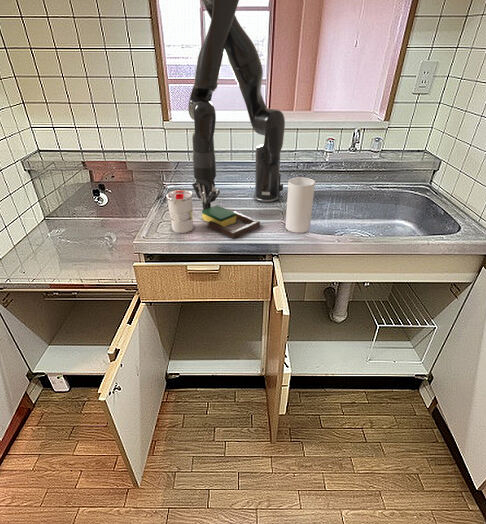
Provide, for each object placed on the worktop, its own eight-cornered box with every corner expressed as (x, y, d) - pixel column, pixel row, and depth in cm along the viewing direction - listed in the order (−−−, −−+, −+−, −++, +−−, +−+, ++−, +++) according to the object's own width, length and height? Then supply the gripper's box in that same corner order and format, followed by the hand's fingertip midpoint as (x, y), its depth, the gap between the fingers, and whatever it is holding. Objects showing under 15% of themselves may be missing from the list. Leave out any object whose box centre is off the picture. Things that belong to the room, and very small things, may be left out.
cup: (309, 233, 115) (315, 186, 107) (284, 231, 117) (287, 185, 108) (310, 222, 122) (315, 177, 114) (286, 221, 124) (289, 176, 115)
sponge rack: (235, 216, 127) (234, 211, 126) (259, 226, 120) (259, 221, 119) (208, 227, 120) (208, 221, 119) (233, 239, 113) (233, 233, 112)
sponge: (217, 213, 129) (217, 205, 128) (236, 222, 123) (236, 213, 121) (202, 219, 125) (201, 210, 124) (220, 228, 119) (220, 219, 117)
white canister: (190, 236, 115) (186, 201, 108) (165, 233, 116) (161, 199, 110) (199, 223, 123) (196, 190, 117) (176, 221, 124) (172, 188, 118)
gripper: (225, 165, 117) (226, 214, 126) (200, 157, 125) (203, 203, 134) (208, 170, 113) (210, 220, 122) (183, 162, 121) (187, 209, 130)
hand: (206, 211), depth 128 cm, fingers closed
